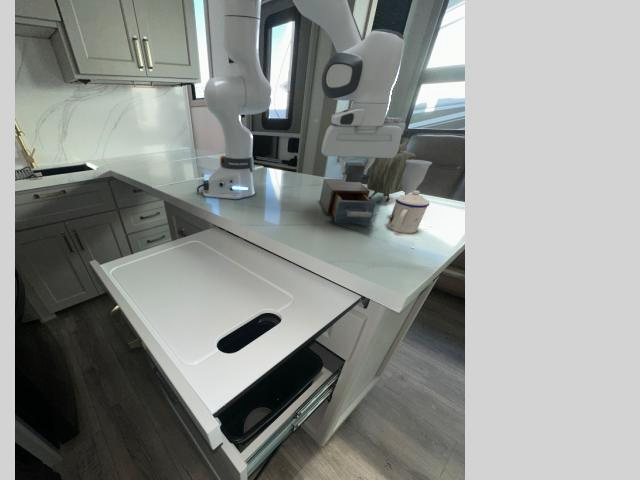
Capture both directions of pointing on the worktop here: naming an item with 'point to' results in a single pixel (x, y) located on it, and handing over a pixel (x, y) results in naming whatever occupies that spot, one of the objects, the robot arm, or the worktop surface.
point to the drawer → (352, 208)
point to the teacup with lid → (408, 212)
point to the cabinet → (338, 191)
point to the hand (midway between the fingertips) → (352, 173)
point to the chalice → (414, 174)
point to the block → (353, 172)
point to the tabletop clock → (389, 172)
